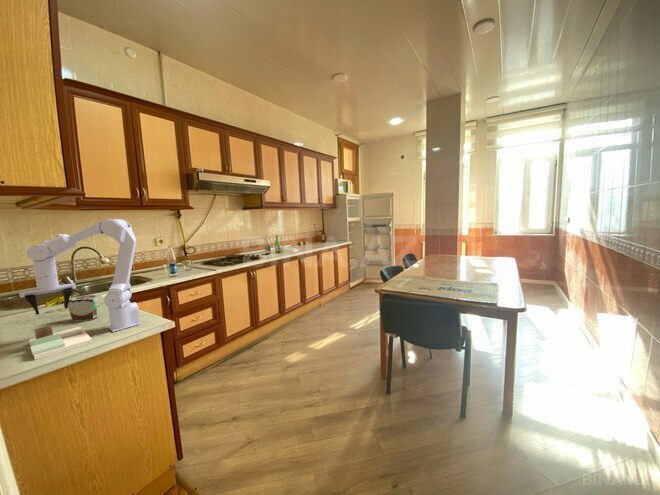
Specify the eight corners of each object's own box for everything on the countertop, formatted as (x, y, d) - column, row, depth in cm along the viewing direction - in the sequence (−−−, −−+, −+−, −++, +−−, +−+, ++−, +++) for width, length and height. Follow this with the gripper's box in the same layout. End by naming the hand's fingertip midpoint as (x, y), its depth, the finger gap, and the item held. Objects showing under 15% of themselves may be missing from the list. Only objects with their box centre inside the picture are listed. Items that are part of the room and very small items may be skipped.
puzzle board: (81, 329, 108) (80, 326, 108) (92, 342, 96) (91, 339, 96) (29, 343, 97) (28, 339, 97) (34, 360, 85) (34, 355, 85)
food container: (107, 314, 125) (104, 294, 124) (96, 319, 119) (93, 298, 118) (80, 316, 125) (77, 295, 124) (68, 321, 119) (65, 299, 118)
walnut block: (53, 341, 99) (50, 325, 98) (54, 344, 96) (51, 328, 95) (37, 345, 96) (34, 329, 95) (38, 348, 93) (35, 332, 92)
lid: (61, 339, 96) (60, 332, 95) (65, 345, 91) (64, 338, 91) (30, 348, 90) (29, 341, 89) (32, 354, 85) (31, 347, 85)
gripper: (71, 271, 109) (76, 303, 110) (16, 278, 98) (22, 314, 99) (74, 273, 105) (79, 306, 106) (17, 281, 93) (24, 318, 95)
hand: (52, 310), depth 102 cm, fingers open, 7 cm apart
